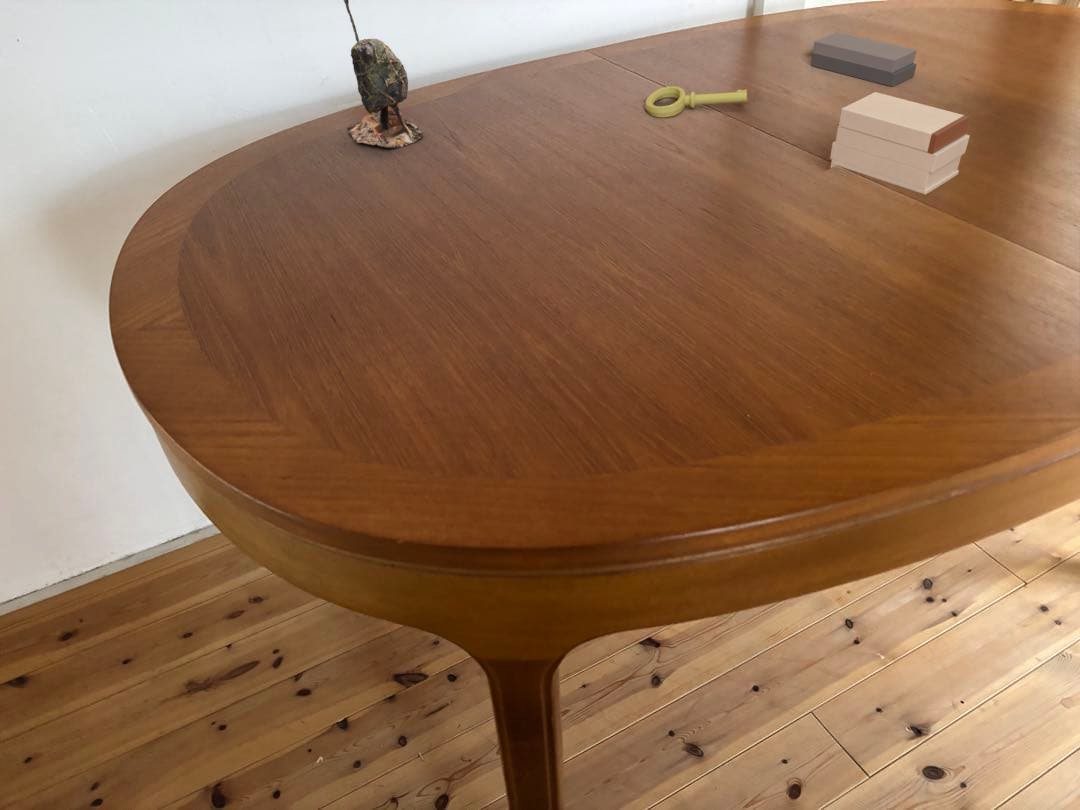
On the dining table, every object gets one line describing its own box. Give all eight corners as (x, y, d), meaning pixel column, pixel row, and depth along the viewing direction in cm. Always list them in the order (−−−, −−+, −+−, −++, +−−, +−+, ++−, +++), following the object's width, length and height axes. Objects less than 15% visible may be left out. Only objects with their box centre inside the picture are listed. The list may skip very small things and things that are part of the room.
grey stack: (914, 76, 112) (919, 50, 110) (892, 87, 110) (897, 60, 108) (832, 56, 120) (836, 31, 118) (810, 65, 117) (814, 40, 115)
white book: (965, 135, 85) (970, 116, 84) (932, 154, 82) (937, 135, 81) (872, 109, 91) (875, 91, 90) (838, 126, 88) (841, 108, 87)
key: (751, 111, 106) (753, 93, 104) (649, 119, 105) (649, 102, 104) (735, 90, 111) (737, 73, 110) (639, 98, 111) (639, 81, 110)
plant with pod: (366, 164, 99) (332, -29, 86) (343, 129, 107) (308, -52, 95) (435, 150, 101) (412, -41, 89) (407, 117, 109) (382, -62, 97)
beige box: (955, 187, 88) (970, 135, 85) (923, 208, 85) (936, 155, 82) (860, 157, 95) (870, 107, 91) (826, 175, 92) (835, 124, 88)
